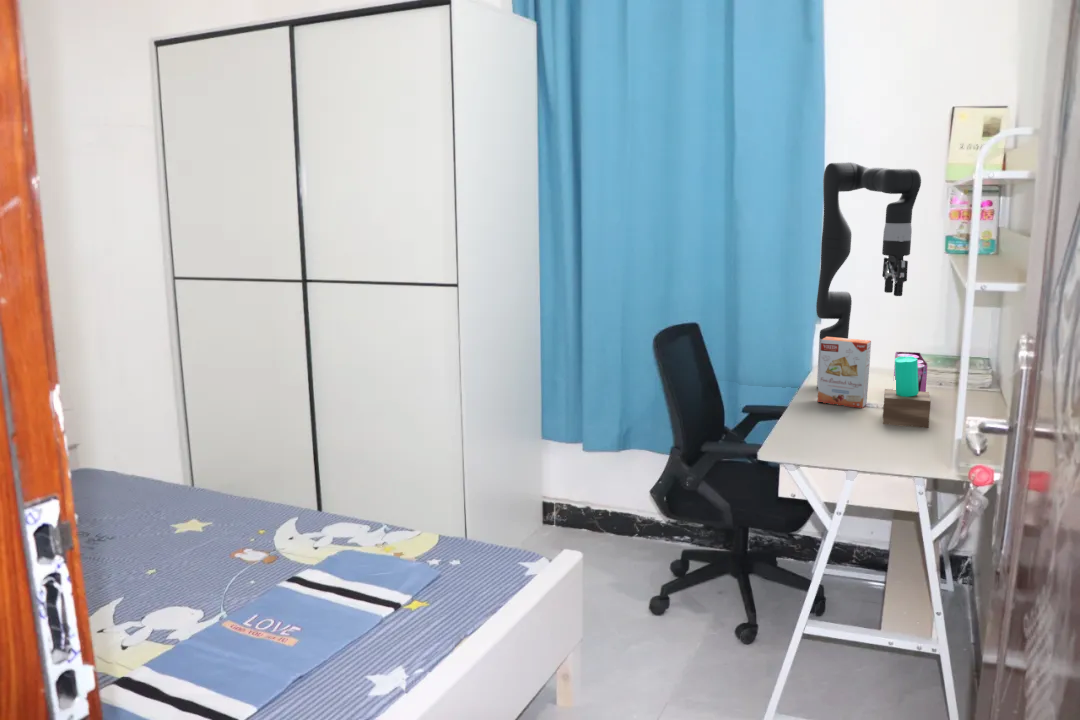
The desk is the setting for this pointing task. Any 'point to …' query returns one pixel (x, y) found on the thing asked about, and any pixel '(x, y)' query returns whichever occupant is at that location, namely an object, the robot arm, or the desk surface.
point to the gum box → (921, 368)
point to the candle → (906, 376)
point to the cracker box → (844, 371)
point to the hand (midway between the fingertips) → (893, 294)
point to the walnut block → (906, 409)
